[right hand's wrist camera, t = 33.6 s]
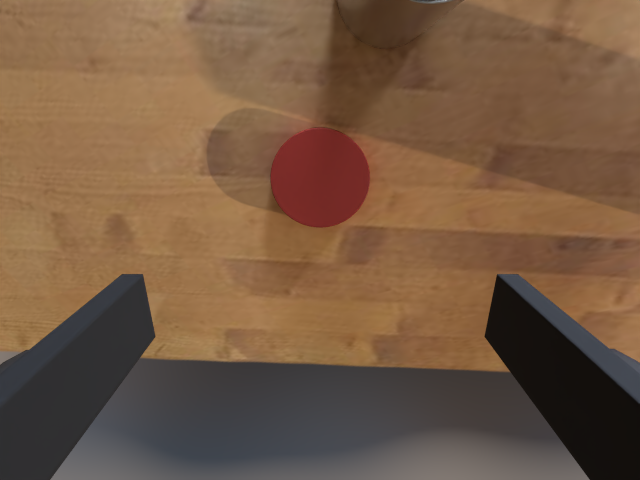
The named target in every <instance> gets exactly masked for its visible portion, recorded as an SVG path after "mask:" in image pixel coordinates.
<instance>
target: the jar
mask: <svg viewBox="0 0 640 480" xmlns="http://www.w3.org/2000/svg"><path fill="white" fill-rule="evenodd" d="M463 1H464V0H337V4H338V8H339V12H340V15H341V17H342V19H343V21H344V23H345V25H346V26H347V28H348V29H349V30H350V32H351V33H352V34H353V35H354V36H355V37H356V38H357V39H359V40H360V41H361V42H363V43H365V44H367V45H369V46H372V47H376V48H382V49H389V48H396V47H400V46H402V45H405V44H407V43H409V42H411V41H412V40H414V39H415V38H416V37H418V36H419V35H420V34H422V33H423V32H424V31H426V30H427V29H428V28H429V27H431V26H432V25H433V24H434V23H436V22H437V21H438V20H440V19H441V18H442V17H443V16H445V15H446V14H447V13H449V12H450V11H451V10H452V9H454V8H455V7H456V6H457V5H459V4H460V3H461V2H463Z"/></svg>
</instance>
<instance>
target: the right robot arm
mask: <svg viewBox="0 0 640 480" xmlns="http://www.w3.org/2000/svg"><path fill="white" fill-rule="evenodd" d="M154 338H155V332H154V327H153V322H152V317H151V312H150V307H149V302H148V297H147V292H146V287H145V282H144V277H143V274H122V275H121V276H119V277H118V278H117V279H116V280H114V281H113V282H112V283H111V284H110V285H108V286H107V287H106V288H105V289H103V290H102V291H101V292H100V293H99V294H97V295H96V296H95V297H94V298H92V299H91V300H90V301H89V302H87V303H86V304H85V305H84V306H83V307H81V308H80V309H79V310H78V311H76V312H75V313H74V314H73V315H72V316H70V317H69V318H68V319H67V320H65V321H64V322H63V323H62V324H60V325H59V326H58V327H57V328H56V329H54V330H53V331H52V332H51V333H49V334H48V335H47V336H46V337H45V338H43V339H42V340H41V341H40V342H38V343H37V344H36V345H35V346H33V347H32V348H31V349H30V350H25V351H24V352H22V353H20V354H18V355H16V356H14V357H12V358H11V359H9V360H7V361H5V362H3V363H2V364H1V365H0V480H50V479H51V478H52V476H53V475H54V474H55V472H56V471H57V470H58V468H59V467H60V465H61V464H62V463H63V461H64V460H65V459H66V457H67V456H68V455H69V453H70V452H71V451H72V449H73V448H74V446H75V445H76V444H77V442H78V441H79V440H80V438H81V437H82V436H83V434H84V433H85V432H86V430H87V429H88V427H89V426H90V425H91V423H92V422H93V421H94V419H95V418H96V417H97V415H98V414H99V412H100V411H101V410H102V408H103V407H104V406H105V404H106V403H107V402H108V400H109V399H110V398H111V396H112V395H113V394H114V392H115V391H116V389H117V388H118V387H119V385H120V384H121V383H122V381H123V380H124V379H125V377H126V376H127V375H128V373H129V372H130V370H131V369H132V368H133V366H134V365H135V364H136V362H137V361H138V360H139V358H140V357H141V355H142V354H143V353H144V351H145V350H146V349H147V347H148V346H149V345H150V343H151V342H152V341H153V339H154ZM485 338H486V339H487V341H488V342H489V343H490V345H491V346H492V347H493V349H494V350H495V351H496V353H497V354H498V355H499V357H500V358H501V360H502V361H503V362H504V364H505V365H506V366H507V368H508V369H509V370H510V372H511V373H512V374H513V376H514V377H515V379H516V380H517V381H518V383H519V384H520V385H521V387H522V388H523V389H524V391H525V392H526V394H527V395H528V396H529V398H530V399H531V400H532V402H533V403H534V404H535V406H536V407H537V408H538V410H539V411H540V413H541V414H542V415H543V417H544V418H545V419H546V421H547V422H548V423H549V425H550V426H551V427H552V429H553V430H554V432H555V433H556V434H557V436H558V437H559V438H560V440H561V441H562V442H563V444H564V445H565V446H566V448H567V449H568V451H569V452H570V453H571V455H572V456H573V457H574V459H575V460H576V461H577V463H578V464H579V466H580V467H581V468H582V470H583V471H584V472H585V474H586V475H587V476H588V478H589V479H590V480H640V363H639V362H638V361H636V360H634V359H632V358H630V357H628V356H627V355H625V354H623V353H621V352H619V351H617V350H615V349H609V348H608V347H607V346H605V345H604V344H603V343H602V342H600V341H599V340H598V339H597V338H595V337H594V336H593V335H592V334H591V333H589V332H588V331H587V330H586V329H584V328H583V327H582V326H581V325H580V324H578V323H577V322H576V321H575V320H573V319H572V318H571V317H570V316H568V315H567V314H566V313H565V312H564V311H562V310H561V309H560V308H559V307H557V306H556V305H555V304H554V303H553V302H551V301H550V300H549V299H548V298H546V297H545V296H544V295H543V294H541V293H540V292H539V291H538V290H537V289H535V288H534V287H533V286H532V285H530V284H529V283H528V282H527V281H526V280H524V279H523V278H522V277H521V276H519V275H518V274H497V277H496V282H495V287H494V292H493V297H492V302H491V307H490V312H489V317H488V322H487V327H486V332H485Z"/></svg>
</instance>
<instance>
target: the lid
mask: <svg viewBox="0 0 640 480" xmlns="http://www.w3.org/2000/svg"><path fill="white" fill-rule="evenodd" d="M369 183H370V172H369V166H368V163H367V160H366V158H365V156H364V154H363V152H362V150H361V149H360V148H359V146H358V145H357V144H356V143H355V142H354V141H353V140H352V139H351V138H349V137H348V136H346V135H345V134H343V133H341V132H339V131H337V130H334V129H329V128H311V129H307V130H304V131H301V132H299V133H297V134H296V135H294V136H293V137H291V138H290V139H289V140H287V141H286V142H285V143H284V144H283V146H282V147H281V148H280V149H279V151H278V153H277V154H276V156H275V159H274V161H273V164H272V168H271V187H272V191H273V195H274V197H275V199H276V201H277V203H278V205H279V206H280V207H281V209H282V210H283V211H284V212H285V213H286V214H287V215H288V216H289V217H291V218H292V219H293V220H295V221H297V222H299V223H301V224H304V225H307V226H311V227H329V226H334V225H337V224H339V223H341V222H343V221H345V220H347V219H348V218H350V217H351V216H352V215H353V214H355V213H356V211H357V210H358V209H359V208H360V207H361V205H362V204H363V202H364V200H365V198H366V195H367V193H368V189H369Z"/></svg>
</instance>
